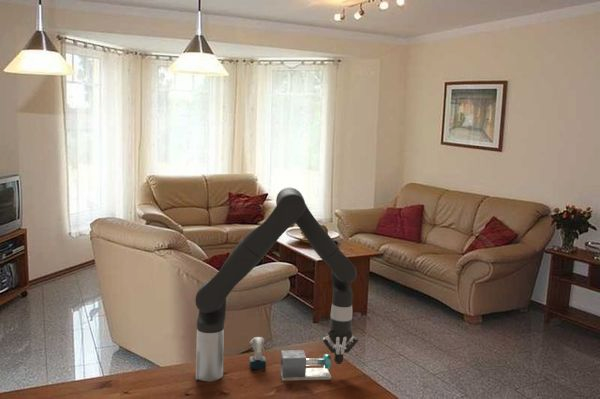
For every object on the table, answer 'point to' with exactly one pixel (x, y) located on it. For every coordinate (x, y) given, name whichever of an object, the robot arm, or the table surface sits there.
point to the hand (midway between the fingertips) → (338, 363)
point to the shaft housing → (299, 367)
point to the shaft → (320, 361)
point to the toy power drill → (257, 354)
